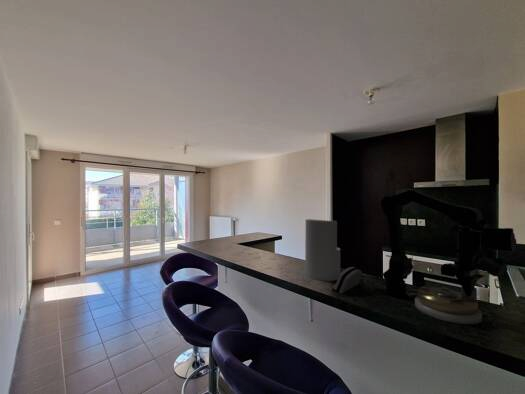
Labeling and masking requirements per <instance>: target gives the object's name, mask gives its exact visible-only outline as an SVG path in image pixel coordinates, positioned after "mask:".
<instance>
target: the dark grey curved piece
mask: <svg viewBox="0 0 525 394" xmlns="http://www.w3.org/2000/svg"><path fill="white" fill-rule="evenodd" d="M362 275H363V271H362V270H361V269H359V268H357V267H355V266H350V267H347V268H346V269H344V270H343V271H342V272H340V275H339V277H338V280H336V282H335V284H334V285H332V286H331V288H330V291H334V290H335V291H338V293H339V294H341V295H342V294H344V293H346V292H347V291H349V290H351V289H353V288H354V287H356V286H358V285H359V283H360V281H361V278H362Z"/></svg>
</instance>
